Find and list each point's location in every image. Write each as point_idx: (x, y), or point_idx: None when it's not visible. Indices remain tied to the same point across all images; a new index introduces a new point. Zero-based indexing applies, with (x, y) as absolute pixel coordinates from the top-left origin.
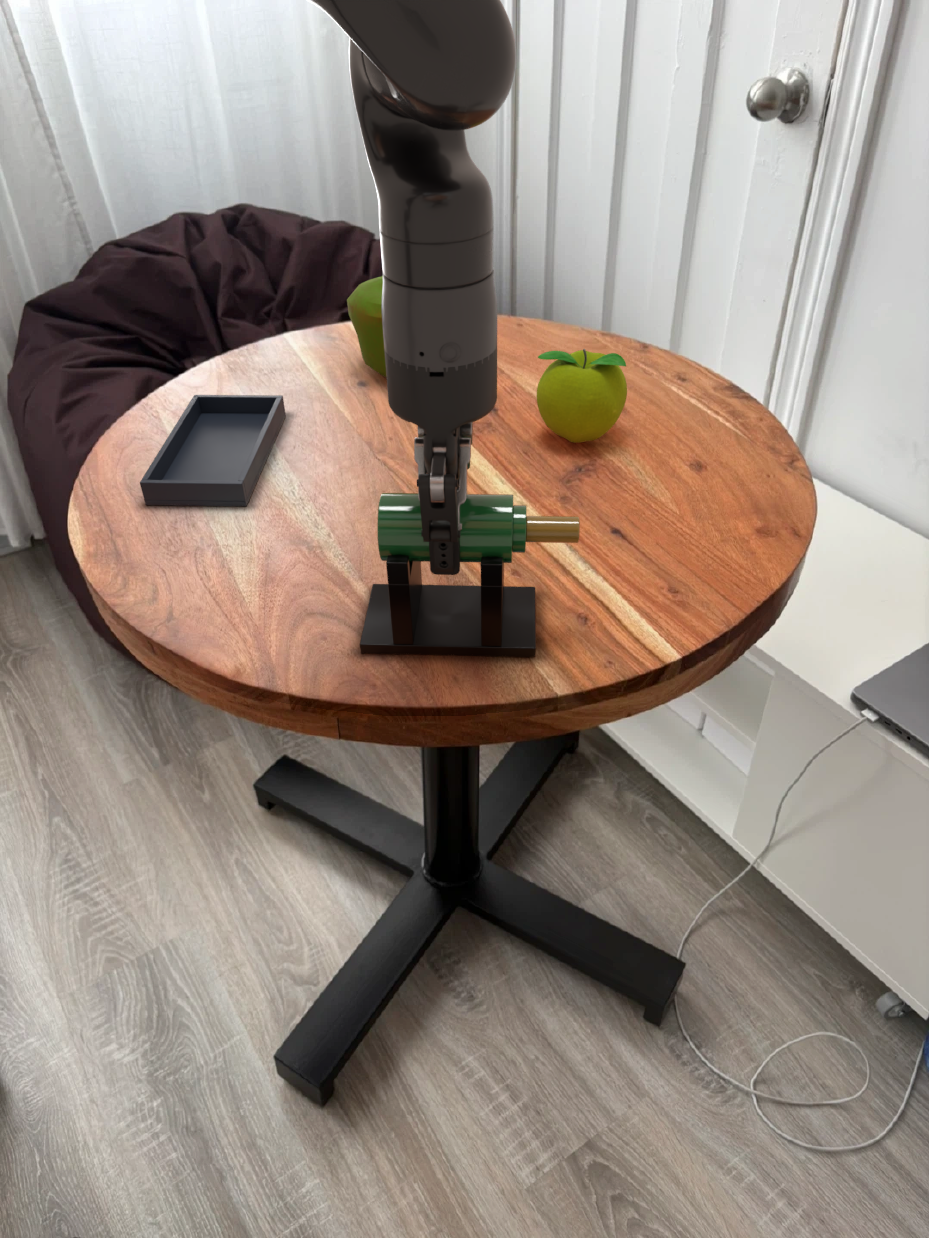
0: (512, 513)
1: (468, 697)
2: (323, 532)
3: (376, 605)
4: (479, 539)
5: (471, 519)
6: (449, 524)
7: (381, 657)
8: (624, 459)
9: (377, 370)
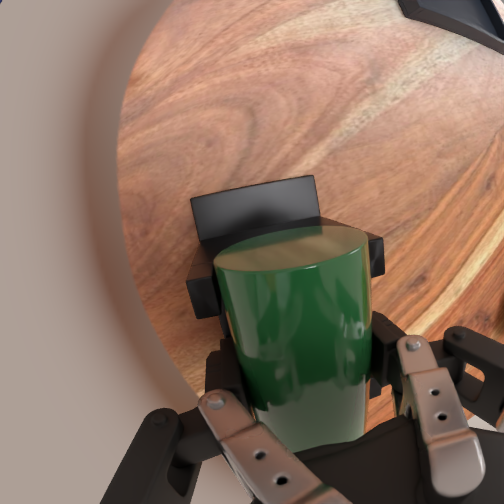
0: None
1: (161, 331)
2: (398, 91)
3: (270, 193)
4: None
5: (281, 437)
6: (188, 463)
7: (192, 224)
8: None
9: None
